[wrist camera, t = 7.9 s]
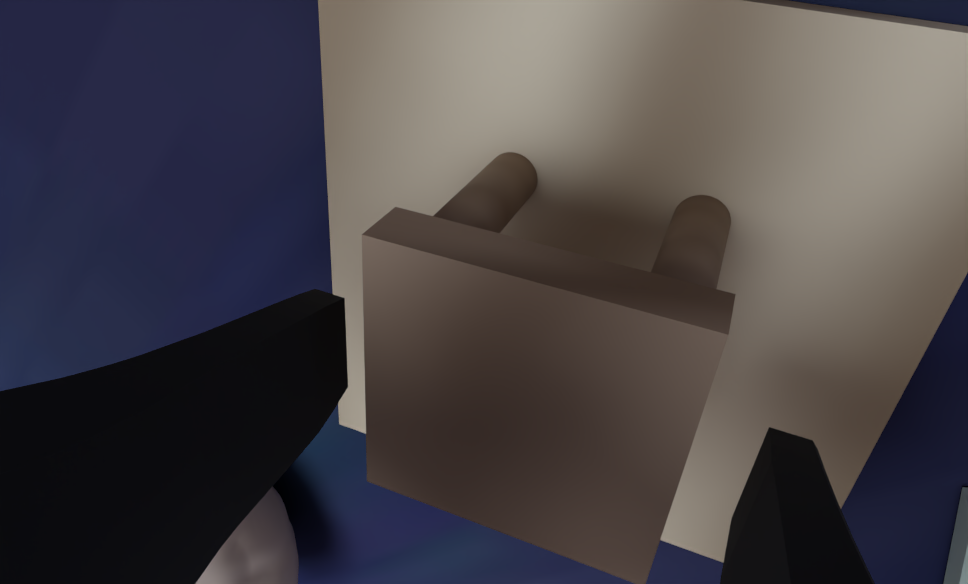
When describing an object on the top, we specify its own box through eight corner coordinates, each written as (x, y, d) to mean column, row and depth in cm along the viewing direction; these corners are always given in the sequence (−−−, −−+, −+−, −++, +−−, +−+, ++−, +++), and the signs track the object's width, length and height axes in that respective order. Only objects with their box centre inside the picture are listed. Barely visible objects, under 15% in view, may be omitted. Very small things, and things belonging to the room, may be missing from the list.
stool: (752, 194, 12) (728, 334, 8) (685, 411, 15) (643, 587, 11) (481, 135, 13) (361, 234, 10) (465, 343, 16) (367, 481, 12)
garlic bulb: (179, 504, 26) (-24, 710, 20) (161, 377, 22) (-94, 579, 16) (333, 579, 25) (168, 828, 18) (340, 456, 21) (137, 714, 15)
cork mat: (1072, 41, 10) (1086, 50, 9) (797, 568, 16) (797, 589, 16) (332, -65, 13) (314, -62, 13) (350, 410, 20) (339, 424, 19)
